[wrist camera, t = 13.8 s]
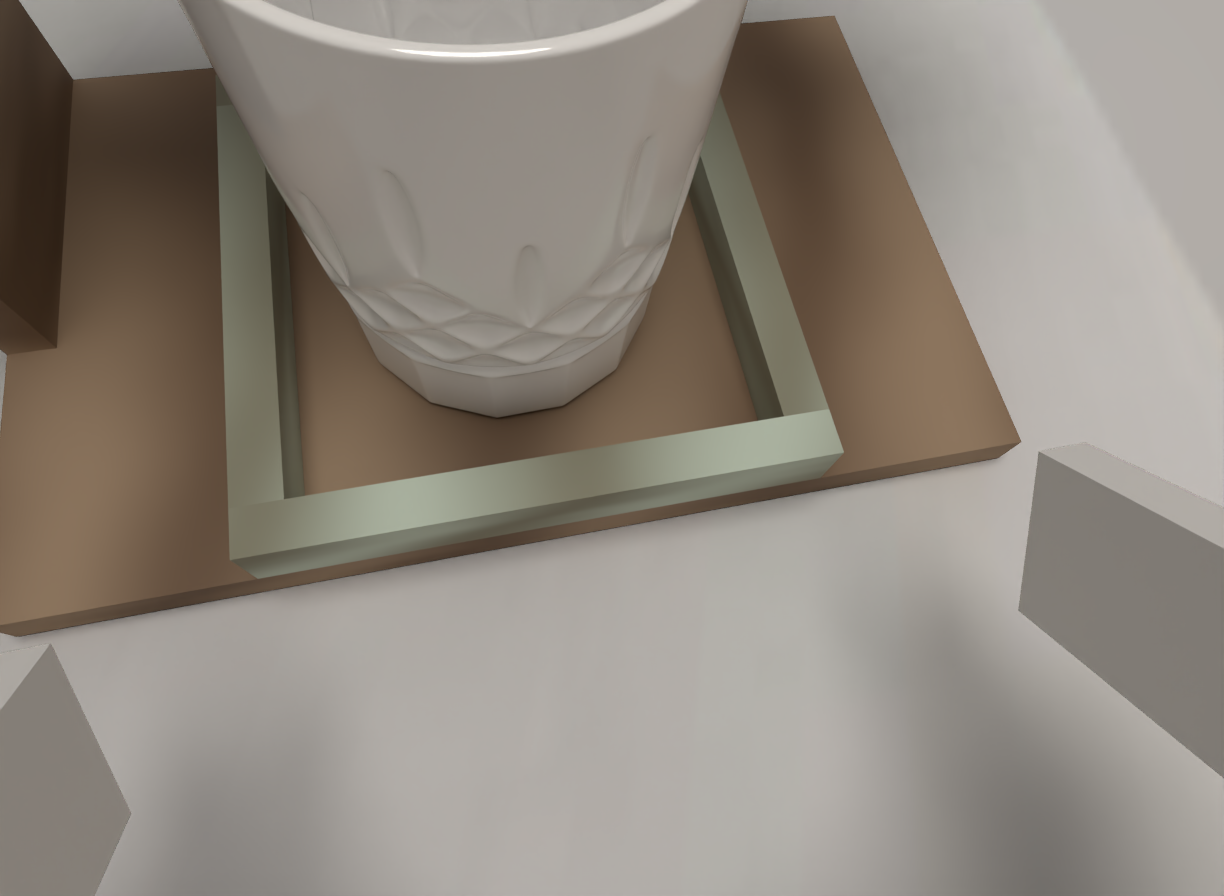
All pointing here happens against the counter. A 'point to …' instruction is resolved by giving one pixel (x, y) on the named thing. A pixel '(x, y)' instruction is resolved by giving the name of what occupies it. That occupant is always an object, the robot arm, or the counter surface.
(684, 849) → the counter surface
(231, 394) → the shelf unit
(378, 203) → the white cup
